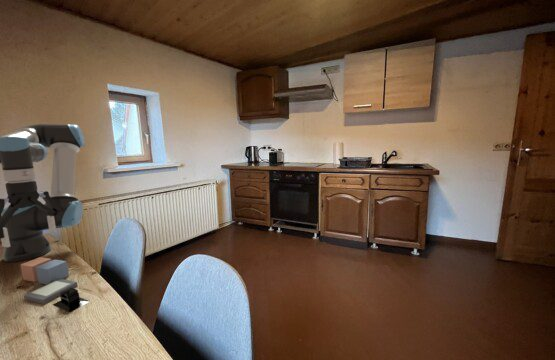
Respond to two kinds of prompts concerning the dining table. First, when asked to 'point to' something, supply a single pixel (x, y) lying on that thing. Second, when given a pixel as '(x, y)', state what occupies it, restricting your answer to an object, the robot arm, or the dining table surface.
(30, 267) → the terracotta block
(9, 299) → the dining table surface
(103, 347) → the dining table surface
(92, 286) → the dining table surface
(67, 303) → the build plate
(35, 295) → the blueprint board
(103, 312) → the dining table surface
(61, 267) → the blue block
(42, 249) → the robot arm
